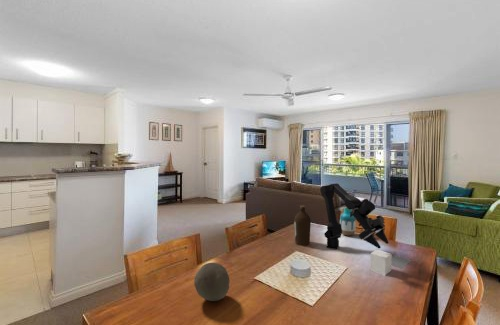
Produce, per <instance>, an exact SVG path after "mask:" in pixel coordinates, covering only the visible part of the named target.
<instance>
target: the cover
mask: <svg viewBox="0 0 500 325" xmlns="http://www.w3.org/2000/svg"><path fill="white" fill-rule="evenodd" d="M392 255H393V253H389V252H385V251H383V250H380V249H375V250H373V251H372V252H370V262H369V263H370V265H369V266H370V268H369V269H370V271H371V272H373V273H377V274H379V275H382V276H384V277H385V276H386V275H387V274H389V273H390V272H391V271H392V265H391V257H392Z"/></svg>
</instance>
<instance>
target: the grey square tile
mask: <svg viewBox="0 0 500 325" xmlns="http://www.w3.org/2000/svg"><path fill="white" fill-rule="evenodd" d="M410 262H412V260H411V259H407V258H404V257H402V256H397V255H394V254H392V257H391V266H393V267H395V268H399V269H403V268H404V267H406V266H407V265H408V264H409V263H410Z"/></svg>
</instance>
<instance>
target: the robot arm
mask: <svg viewBox="0 0 500 325" xmlns="http://www.w3.org/2000/svg"><path fill="white" fill-rule="evenodd" d="M319 191H320V194H321V197H322V198H323V200H324V202H325V208H326V213H327V214H326V215H327V220H328V223H327V226H326V227H327V228H326V231H325V232H324V238H326V248H327V249H333V250H338V248H339V247H340V240H339V239H340V238H342V228H341V224H340V222H339V221H338V218H337V215H336V214H337V212H336V208H335V203H334V197H335V195H337V196H338V197H339V198H340V199H341V200H342V201H343V202H344V204H343V205H344V206H345V208H348V209H349V210H351V209H352V211H351V212H350V217H352V216H354V217H355V219H356V221H357V223H358V226H359V227H362V229H363V230H362V231H361V232H360V233H359V234H358V238H359V239H360V240H361V241H362V240H363V242H364V241H365V242H366V243H369V244H371V245H372V246H374V247H376V248H377V249H381V248H382V247H381V245H380V243H379V242H378V240H377V239H376V237H378V239H380V240H381V241H382V242H383V243H385V244H387V245H388V244H389V243H390V242H389V240H388V238H387V235H386V232H385V230H386V225H385V222H386V221H385V218H384V217H383V216H382V215H381V214H380V215H376V216H375V217H376V218H372V217H369V215H370V214H371V213H372V212H373V211H375V209H376V205H375V203H373V202H372V201H370V200H369V199H368V198H364V199H363V200H362V201H361V199H359V198H358V197H356V196H353V195H352V194H349V193H348V191H346V190H345V189H344V188H343V187H342V186H340V184H339V183H338V182H337V183H330V184H328V185H322V186H321V187H320V189H319Z"/></svg>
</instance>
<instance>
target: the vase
mask: <svg viewBox="0 0 500 325" xmlns="http://www.w3.org/2000/svg"><path fill="white" fill-rule="evenodd" d="M351 211H353V209H351V210H349V209H348V208H347V207H344V208H343V213H341V214H340V218H339V224H341V228H342V234H343V235H345V236H353V235H354V234H355V233H356V227H357V222H356V221H357V220H356V219H355V217H354V216H352V217H350V212H351ZM342 234H341V235H342Z"/></svg>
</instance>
